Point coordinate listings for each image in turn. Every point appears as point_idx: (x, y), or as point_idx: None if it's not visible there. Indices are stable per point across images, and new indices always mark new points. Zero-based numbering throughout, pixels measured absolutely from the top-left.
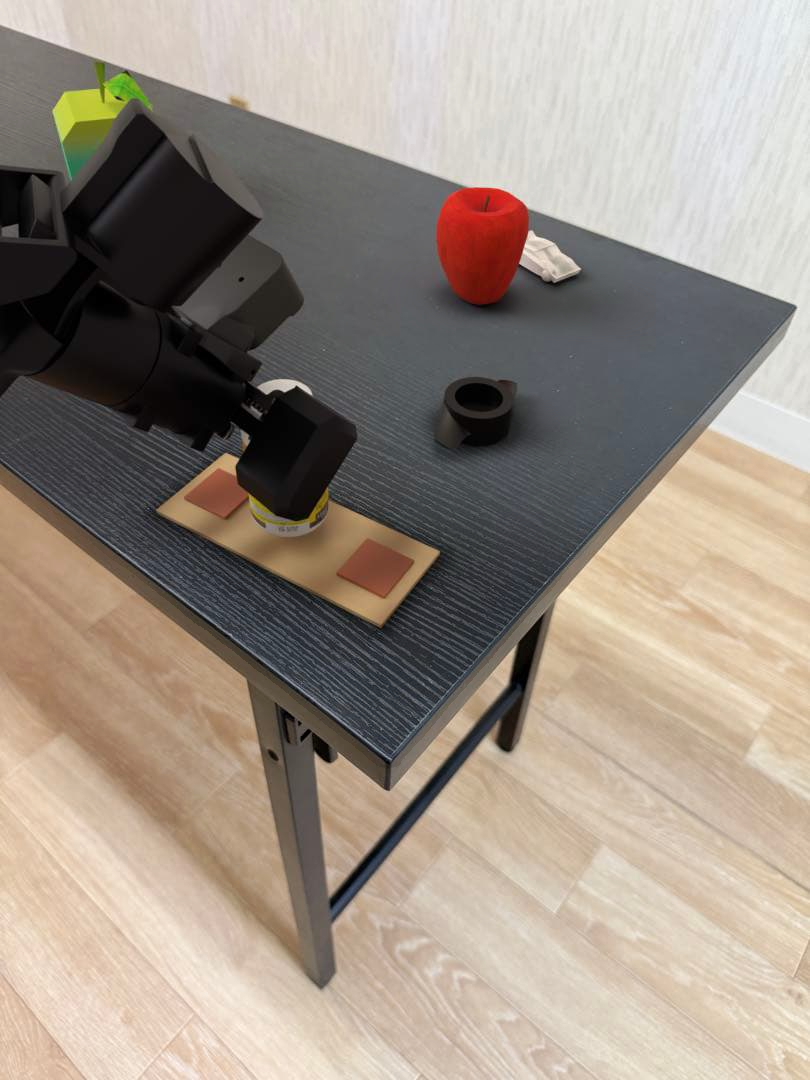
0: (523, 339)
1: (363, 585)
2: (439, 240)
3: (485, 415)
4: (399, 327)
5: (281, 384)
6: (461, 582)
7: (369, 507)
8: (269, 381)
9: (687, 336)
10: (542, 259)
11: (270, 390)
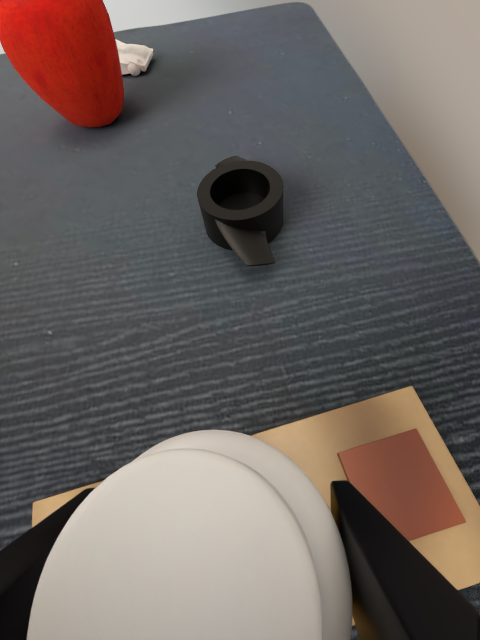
0: (179, 125)
1: (428, 534)
2: (24, 68)
3: (271, 200)
4: (65, 188)
5: (105, 533)
6: (470, 399)
7: (274, 401)
8: (50, 568)
9: (279, 48)
10: (119, 56)
11: (96, 616)
